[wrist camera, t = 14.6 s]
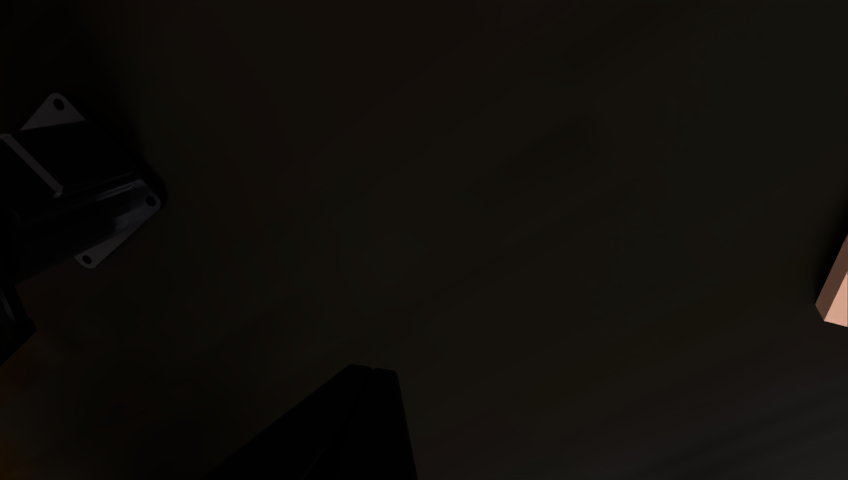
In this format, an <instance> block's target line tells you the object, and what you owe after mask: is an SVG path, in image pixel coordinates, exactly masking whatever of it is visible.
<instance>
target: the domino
mask: <svg viewBox="0 0 848 480" xmlns="http://www.w3.org/2000/svg"><path fill="white" fill-rule="evenodd" d="M815 305H816V307H817V309H818V310H819V312H820V314H821V316H822V318H823V320H824V321H827V322H831V323H835V324H839V325H843V326H847V327H848V234H847V237H846V239H845V241H844V243H843V245H842V247H841V249H840V252H839V254H838V256H837V258H836V260H835V262H834V265H833V267H832V269H831V271H830V273H829V275H828V278H827V280H826V282H825V284H824V286H823V288H822V291H821V293H820V295H819V297H818V299H817V301H816V304H815Z"/></svg>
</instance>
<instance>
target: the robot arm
mask: <svg viewBox="0 0 848 480" xmlns="http://www.w3.org/2000/svg"><path fill="white" fill-rule="evenodd" d="M61 101H62V102H63V103H64V107H63V106H62V103H61ZM151 197H153V198H154V199H155V201H156V204H155V203H154V202H153V201H152V198H151ZM165 205H166V198H165V196H164V194H163V193H162V192H161V191H160V190H159V189H158V188H157V187H156V186H155V185H154V183H153V182H152V181H151V180H150V179H149V178H148V177H147V176H146V175H145V174H144V173H143V172H142V171H141V170H140V168H139V167H138V166H137V165H136V164H135V163H134V162H133V161H132V160H131V159H130V158H129V157H128V156H127V155H126V153H125V152H124V151H123V150H122V149H121V148H120V147H119V146H118V145H117V144H116V143H115V142H114V141H113V140H112V139H111V137H110V136H109V135H108V134H107V133H106V132H105V131H104V130H103V129H102V128H101V127H100V126H99V125H98V124H97V122H96V121H95V120H94V119H93V118H92V117H91V116H90V115H89V114H88V113H87V112H86V111H85V110H84V109H83V108H82V106H81V105H80V104H79V103H78V102H77V101H76V100H75V99H74V98H73V97H72V96H71V95H70V94H68V93H65V92H61V93H52V94H51V95H49V97H48V98H47V99H46V100H45V101H44V103H43V104H42V105H41V106H40V107H39V109H38V110H37V111H36V112H35V113H34V114H33V116H32V117H31V118H30V119H29V120H28V122H27V123H26V124H25V125H24V126H23V127H22V129H21V130H19V131H12V132H6V133H3V134H0V366H1V365H2V364H3V363H4V362H5V361H6V360H7V359H8V358H9V357H10V356H11V355H12V354H13V353H14V352H15V351H16V350H17V349H18V348H19V347H20V346H21V345H22V344H24V343H25V342H26V341H27V340H28V339H29V338H30V337H31V336H32V335H33V334H34V333H35V332H36V328H35V325H34V323H33V320H32V318H28V316H27V314H26V312H25V309H24V307H23V305H22V302H21V300H20V297H19V295H18V293H17V290H16V288H15V285H17V284H19V283H21V282H23V281H25V280H27V279H29V278H31V277H34V276H36V275H38V274H40V273H42V272H44V271H46V270H48V269H50V268H52V267H54V266H56V265H58V264H60V263H62V262H64V261H66V260H68V259H70V258H73V257H74V258H75V259H76V260H77V261H78V262H79V263H81V264H82V265H83V266H84V267H86V268H94V267H96V266H97V265H99V264H101V263H102V262H103V261H104V260H105V259H107V258H108V257H109V256H110V255H111V254H112V253H113V252H114V251H116V250H117V249H118V248H119V247H120V246H121V245H122V244H123V243H124V242H126V241H127V240H128V239H129V238H130V237H131V236H132V235H133V234H135V233H136V232H137V231H138V230H139V229H140V228H141V227H142V226H144V225H145V224H146V223H147V222H148V221H149V220H150V219H151V218H152V217H154V216H155V215H156V214H157V213H158V212H159V211H160V210H161V209H163V208H164V207H165ZM89 257H90V258H91V259H90V258H89ZM199 480H418V477H417V472H416V467H415V462H414V457H413V452H412V447H411V442H410V437H409V431H408V426H407V421H406V416H405V411H404V406H403V401H402V396H401V391H400V385H399V380H398V375H397V373H396V372H395V371H394V370H387V369H381V368H375V369H374V370H373V369H372V368H371V367H369V366H362V365H356V364H350V365H348V366H347V367H345V368H344V369H343V370H341V371H340V372H339V373H337V374H336V375H335V376H334V377H332V378H331V379H330V380H328V381H327V382H326V383H324V384H323V385H322V386H320V387H319V388H318V389H317V390H315V391H314V392H313V393H311V394H310V395H309V396H307V397H306V398H305V399H304V400H302V401H301V402H300V403H298V404H297V405H296V406H294V407H293V408H292V409H290V410H289V411H288V412H287V413H285V414H284V415H283V416H281V417H280V418H279V419H277V420H276V421H275V422H273V423H272V424H271V425H270V426H268V427H267V428H266V429H264V430H263V431H262V432H260V433H259V434H258V435H257V436H255V437H254V438H253V439H251V440H250V441H249V442H247V443H246V444H245V445H243V446H242V447H241V448H240V449H238V450H237V451H236V452H234V453H233V454H232V455H230V456H229V457H228V458H226V459H225V460H224V461H223V462H221V463H220V464H219V465H217V466H216V467H215V468H213V469H212V470H211V471H209V472H208V473H207V474H206V475H204V476H203V477H202V478H200V479H199Z"/></svg>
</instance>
